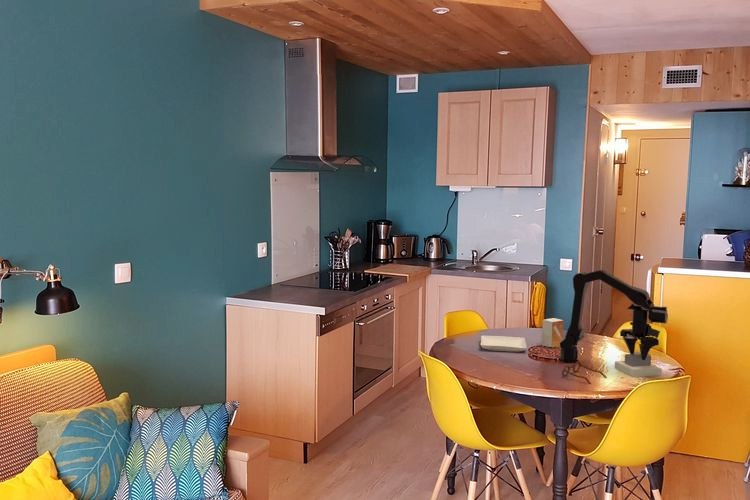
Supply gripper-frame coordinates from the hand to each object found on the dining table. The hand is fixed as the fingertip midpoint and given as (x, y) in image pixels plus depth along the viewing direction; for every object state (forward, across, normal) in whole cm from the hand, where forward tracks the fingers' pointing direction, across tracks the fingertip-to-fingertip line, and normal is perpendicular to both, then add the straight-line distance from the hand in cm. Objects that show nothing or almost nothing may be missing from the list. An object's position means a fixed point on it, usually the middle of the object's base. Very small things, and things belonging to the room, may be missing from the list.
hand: (637, 357), depth 272 cm
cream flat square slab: (+7, +49, +39) cm, 63 cm away
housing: (+3, 0, 0) cm, 3 cm away
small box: (+6, +46, +15) cm, 49 cm away
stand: (+6, 0, 0) cm, 6 cm away
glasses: (+7, -4, +26) cm, 27 cm away
